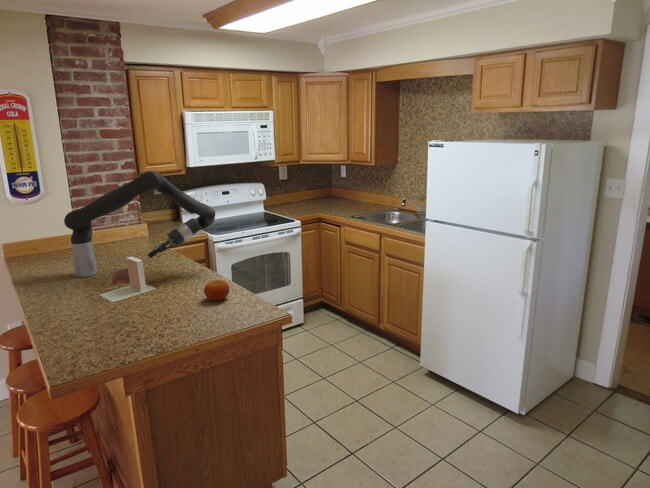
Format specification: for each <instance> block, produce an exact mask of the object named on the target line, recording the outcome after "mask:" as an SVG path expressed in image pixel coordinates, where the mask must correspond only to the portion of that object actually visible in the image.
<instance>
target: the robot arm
mask: <svg viewBox="0 0 650 488" xmlns="http://www.w3.org/2000/svg"><path fill="white" fill-rule="evenodd" d="M149 191H156V192H158V193H161V194H163V195H164V196H166V197H167V198H169V199H170V200H172V202H174V203H175V204H176V205H177V206H178V207H180V208H181V209H182V210H184V211H185V212H187V213H188V214H191V215H194V214H195V215H198V216H197V217H196V218H195V217H194V218H190V219H188V220H187V221H185V222H184V223H182V224H180V225H178V226H177V227H175V228H174V229H173V230H171V231H170V232H168V233H167V234H166V235H167V236H166V237H167V239H163V240H162V241H161V242H159V244H158V245H156V246H155V247H154V249H153V250H151V251H150V252H148V253H147V256H148V257H149V258H150V259H152V258H153V257H155V256H156V255H158V254H162V253H163V252H165V251H166V250H169V249H171V248H172V247H173V245H174V247H180V246H181V245H182V244H184V243H185V242H187V241H188V240H189V239H190V238H191V237H192V236H194V235H196V234H197V233H198V232H200V231H202V230H204V229H206V228H208V227H210V226H211V225H212V224H214V222H215V220H216V219H215V218H216V211H215V209H214V208H213V207H211V206H209V205H208V204H205V203H203V202H200V201H198V200H196V199H195V198H194V197H192V196H190V195H189V194H187V193H186V192H184V191H182V190H181V189H179V188H177V187H176V186H175V185H173V184H172V183H171V182H170V181H169V180H168V179H167V178H166V177H164V175H162V174H161V173H160V172H158V171H153V170H148V171H145V172H143V173H142V174H140V175H138V177H136V178H134V179H133V180H131V181H129V182H127V183H125V184H123V185H120V186H119V187H116V188H114V189H112V190H109V191H108V192H106V193H104V194H103V195H101V196H100V197H98V198H96V199H95V200H94V201H92V202H90V203H88V204H87V205H86V206H84V207H81V208H78V209H77V208H76V209H74V210H72V211H69V212H68V213H67V214H66V215H65V217H64V220H63V221H64V225H65V227H66V228H68V229H70V230H72V233H71V237H70V242H71V248H72V254H73V258H72V262H73V267H74V273H75V277H76V278H78V277H79V278H86V277H92V276H95V275H97V274H98V267H97V261H96V256H95V250H94V244H93V238H92V237H93V227H92V221H94V220H96V219H99V218H101V217H104V216H107V215H108V214H111V213H114V212H116V211H118V210H120V209H123V208H124V207H126V206H127V205H128V204H130V202H132V201H133V200H134V199H135V198H136V197H138V196H139V195H142V194H144V193H146V192H149Z"/></svg>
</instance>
